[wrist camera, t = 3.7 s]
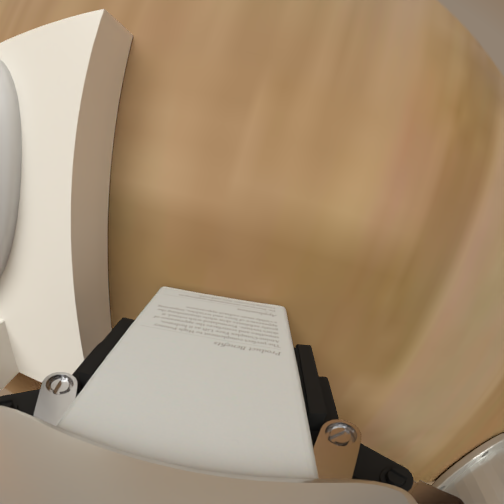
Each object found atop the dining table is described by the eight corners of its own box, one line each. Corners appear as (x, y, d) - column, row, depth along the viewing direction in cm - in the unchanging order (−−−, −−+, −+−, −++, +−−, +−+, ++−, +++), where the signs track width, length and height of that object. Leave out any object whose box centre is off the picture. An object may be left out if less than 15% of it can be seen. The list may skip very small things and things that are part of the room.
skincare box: (160, 354, 15) (63, 557, 3) (162, 277, 14) (-10, 495, 2) (275, 374, 15) (280, 605, 3) (293, 298, 14) (341, 584, 2)
